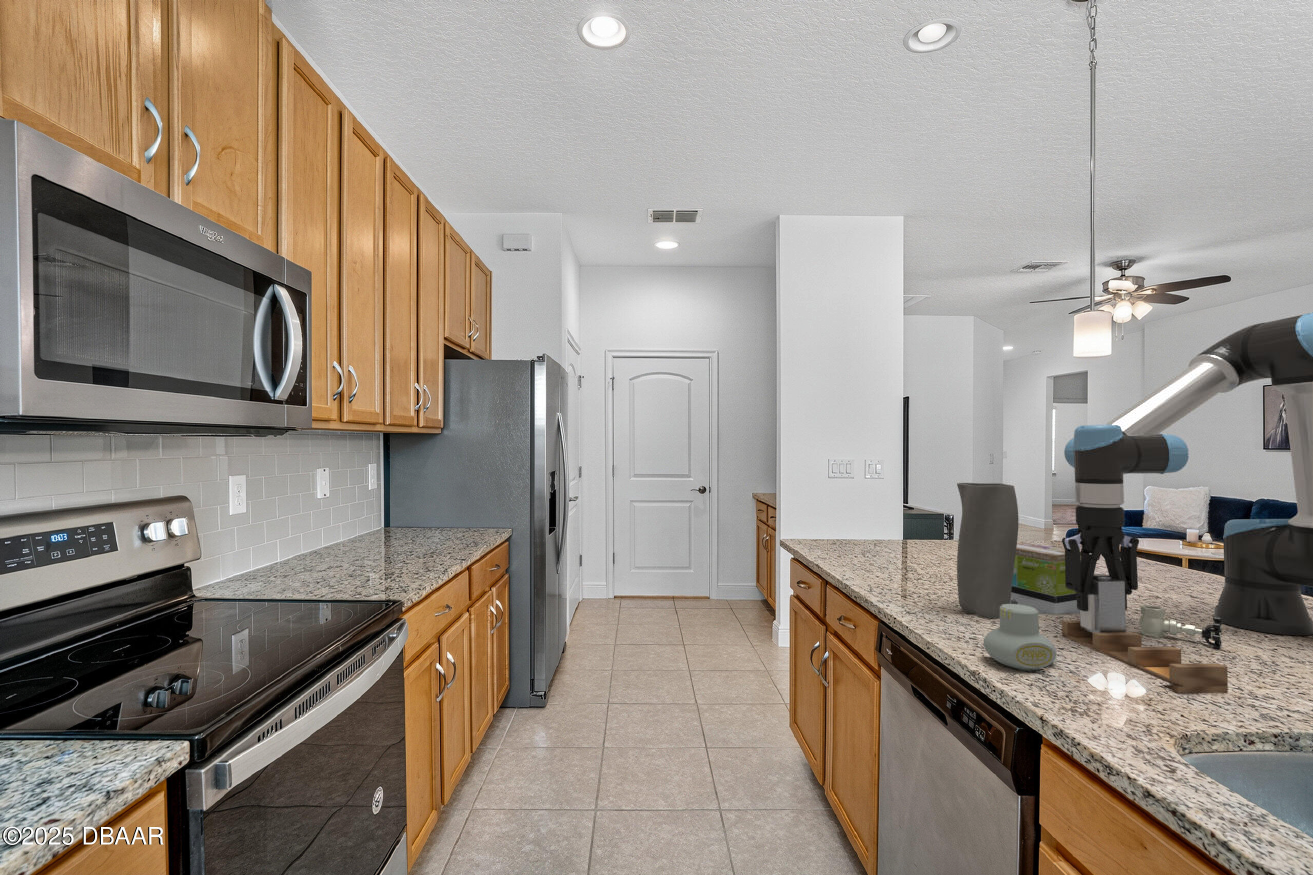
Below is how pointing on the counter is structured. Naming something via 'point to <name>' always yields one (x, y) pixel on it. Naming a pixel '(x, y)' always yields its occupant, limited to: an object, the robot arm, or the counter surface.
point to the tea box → (1042, 580)
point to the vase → (986, 547)
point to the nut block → (1108, 604)
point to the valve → (1176, 626)
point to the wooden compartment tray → (1152, 660)
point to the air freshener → (1019, 640)
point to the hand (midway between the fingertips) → (1102, 627)
